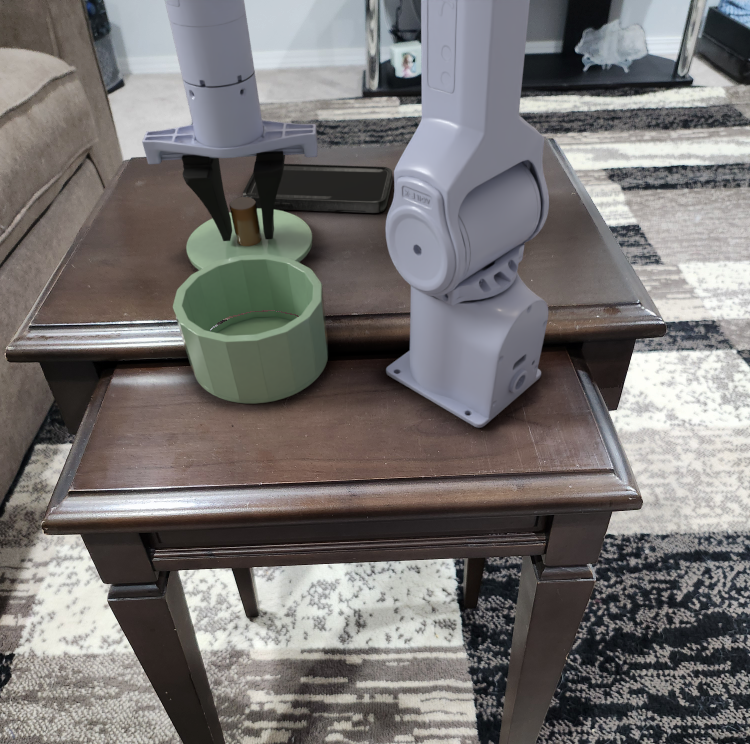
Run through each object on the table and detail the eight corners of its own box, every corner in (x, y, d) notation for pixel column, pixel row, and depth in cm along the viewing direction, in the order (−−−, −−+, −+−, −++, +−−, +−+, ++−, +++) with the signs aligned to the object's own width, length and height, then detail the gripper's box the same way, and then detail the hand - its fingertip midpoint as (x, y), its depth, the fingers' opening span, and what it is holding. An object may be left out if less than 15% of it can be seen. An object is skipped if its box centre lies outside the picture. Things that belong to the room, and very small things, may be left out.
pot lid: (338, 246, 65) (335, 199, 61) (243, 302, 59) (233, 253, 56) (258, 206, 70) (250, 160, 66) (164, 254, 65) (149, 207, 61)
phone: (258, 162, 73) (393, 166, 72) (259, 173, 74) (393, 177, 73) (239, 198, 69) (384, 203, 67) (241, 208, 69) (384, 213, 68)
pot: (356, 353, 54) (352, 290, 50) (253, 424, 50) (238, 362, 45) (267, 301, 59) (256, 239, 55) (165, 361, 54) (144, 299, 50)
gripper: (311, 51, 55) (325, 210, 66) (136, 59, 55) (179, 216, 66) (308, 84, 51) (324, 248, 61) (119, 93, 51) (167, 255, 61)
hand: (248, 234), depth 63 cm, fingers open, 3 cm apart
